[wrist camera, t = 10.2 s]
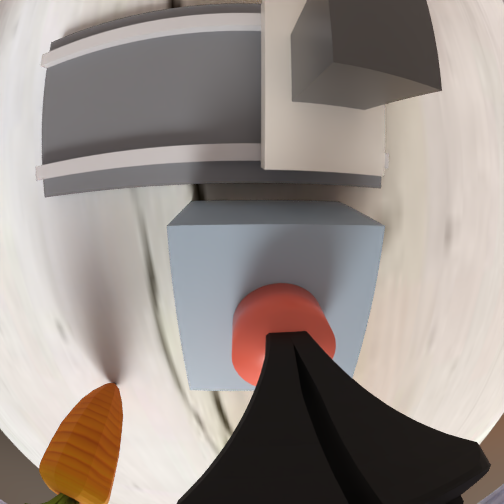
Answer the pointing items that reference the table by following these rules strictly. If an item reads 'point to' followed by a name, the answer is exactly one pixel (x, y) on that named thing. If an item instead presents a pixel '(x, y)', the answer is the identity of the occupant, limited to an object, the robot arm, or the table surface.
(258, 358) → the button
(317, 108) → the carriage
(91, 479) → the carrot
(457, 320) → the table surface
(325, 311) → the blue-grey block
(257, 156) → the rail board
